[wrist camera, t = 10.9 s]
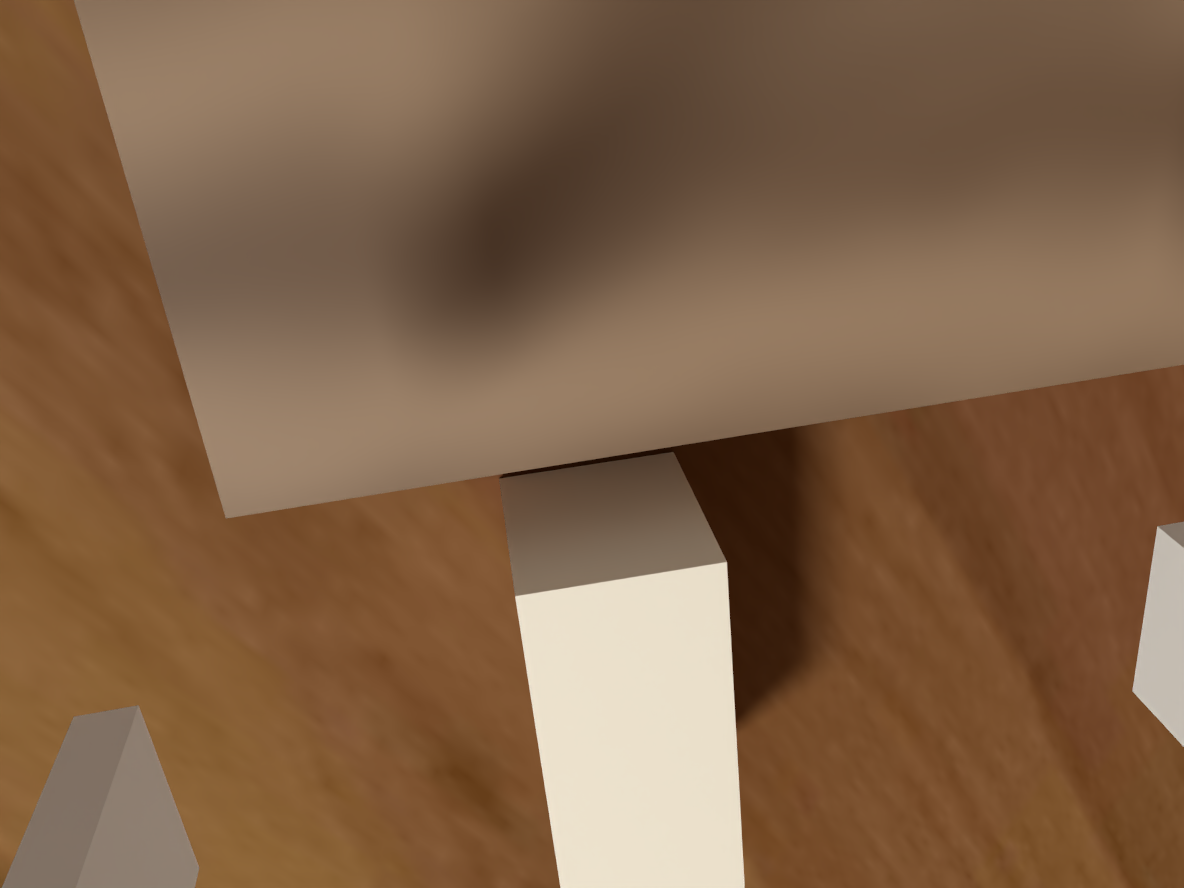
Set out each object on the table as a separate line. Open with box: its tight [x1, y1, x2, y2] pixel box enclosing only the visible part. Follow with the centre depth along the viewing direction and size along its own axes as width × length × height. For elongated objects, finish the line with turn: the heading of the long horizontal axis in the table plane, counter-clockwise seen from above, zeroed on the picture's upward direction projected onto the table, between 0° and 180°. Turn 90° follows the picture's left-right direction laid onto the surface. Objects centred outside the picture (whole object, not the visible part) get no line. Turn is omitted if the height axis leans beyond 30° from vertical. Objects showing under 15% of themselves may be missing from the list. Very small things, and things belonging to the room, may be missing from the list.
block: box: [499, 452, 745, 888], centre depth 25 cm, size 5×4×9 cm
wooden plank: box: [74, 0, 1184, 518], centre depth 20 cm, size 10×20×4 cm, turn 97°
